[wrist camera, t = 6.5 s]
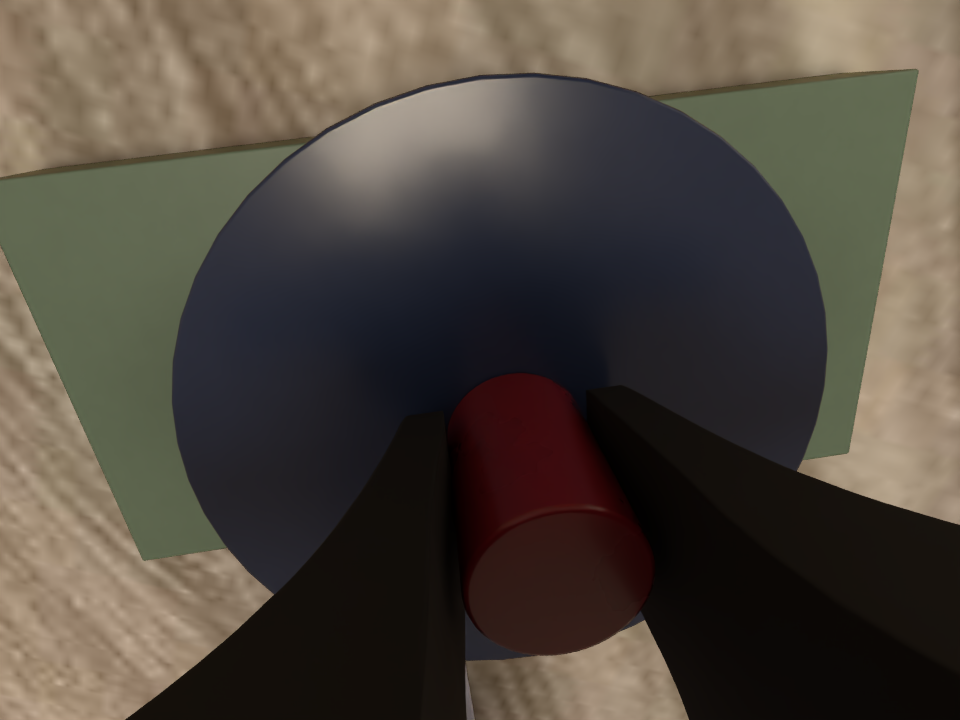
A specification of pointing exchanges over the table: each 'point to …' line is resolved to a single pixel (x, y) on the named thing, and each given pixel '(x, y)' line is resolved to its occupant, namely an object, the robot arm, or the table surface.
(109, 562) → the table surface
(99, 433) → the sill
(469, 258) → the lid
